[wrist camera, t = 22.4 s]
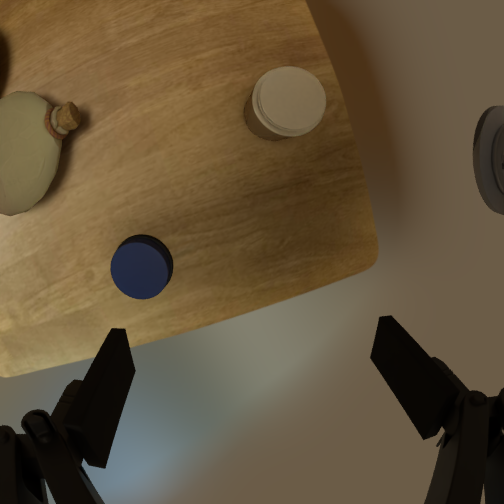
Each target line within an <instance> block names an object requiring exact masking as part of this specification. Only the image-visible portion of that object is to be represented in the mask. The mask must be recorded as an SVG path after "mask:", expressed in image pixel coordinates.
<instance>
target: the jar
mask: <svg viewBox="0 0 504 504" xmlns="http://www.w3.org/2000/svg"><path fill="white" fill-rule="evenodd" d="M325 107H326V95H325V92H324V88H323V87H322V85H321V83H320V81H319V80H318V79H317V78H316V77H315V76H314V75H313V74H311V73H310V72H308V71H306V70H305V69H302V68H299V67H292V66H286V67H279V68H275V69H273V70H270V71H268V72H267V73H265V74H264V75H263V76H262V77H261V78H260V79H259V80H258V81H257V83H256V85H255V87H254V89H253V91H252V92H251V94H250V96H249V98H248V100H247V102H246V105H245V108H244V117H245V121H246V124H247V126H248V127H249V129H250V130H251V131H252V132H253V133H254V134H255V135H256V136H258V137H259V138H261V139H264V140H268V141H280V140H284V139H288V138H292V137H296V136H300V135H303V134H306V133H308V132H310V131H311V130H313V129H314V128H315V127H316V126H317V125H318V124H319V122H320V121H321V119H322V117H323V115H324V111H325Z"/></svg>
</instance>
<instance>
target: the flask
mask: <svg viewBox="0 0 504 504" xmlns="http://www.w3.org/2000/svg"><path fill="white" fill-rule="evenodd" d="M80 122H81V119H80V114H79V111H78V109H77V107H76V106H75V105H74V103H73V102H67V103H66V104H65V105H64V106H63V107H62V108H61V107H60V106H57V107H56V108H52V106H51V105H50V104H49V103H48V102H47V101H45V100H44V99H43V98H41V97H40V96H39V95H37V94H36V93H35V92H21V91H16V92H14V93H11V94H9V95H7V96H5V97H3V98H1V99H0V213H1V214H4V215H8V216H13V215H16V214H19V213H23V212H26V211H28V210H29V209H30V208H31V207H32V206H33V205H34V204H36V203H37V202H38V201H39V200H40V199H41V198H42V197H43V196H44V194H45V193H46V192H47V190H48V188H49V186H50V184H51V182H52V180H53V178H54V176H55V174H56V173H57V171H58V164H59V158H60V152H61V147H62V139H64V138H65V137H66V136H67V134H68V133H69V130H71V129H76V127H77V126H78V125H79V124H80Z"/></svg>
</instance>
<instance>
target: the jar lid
mask: <svg viewBox="0 0 504 504" xmlns="http://www.w3.org/2000/svg"><path fill="white" fill-rule="evenodd" d="M170 266H171V265H170V262H169V258H168V256H167V254H166V253H165V251H164V250H163V249H162V248H161V247H160V245H158V244H157V243H155V242H153V241H151V240H148V239H146V238H145V239H144V238H136V239H132V240H131V239H130V240H129V241H127V242H126V243H123V244H122V245H121V247H119V248H118V249H117V250H116V252H115V254H114V256H113V258H112V261H111V275H112V278H113V281H114V283H115V284H116V286H117V287H118V288H119V289H120V290H121V291H122V292H123V293H124V294H126V295H128V296H130V297H132V298H135V299H149V298H152V297H154V296H156V295H158V294H159V293H160V292H161V291H162V290H163V289H164V287H165V285H166V284H167V282H168V277H169V275H170Z"/></svg>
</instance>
